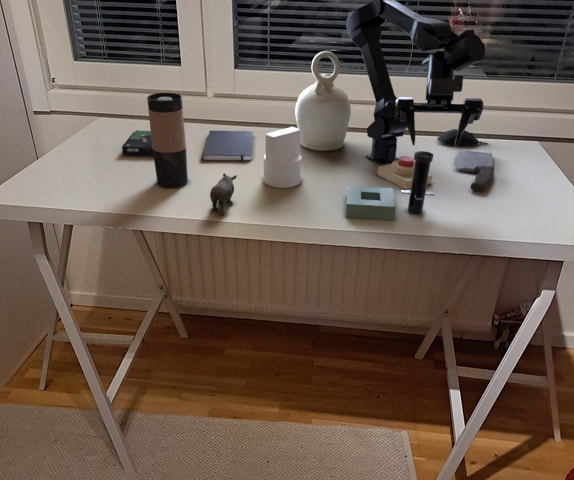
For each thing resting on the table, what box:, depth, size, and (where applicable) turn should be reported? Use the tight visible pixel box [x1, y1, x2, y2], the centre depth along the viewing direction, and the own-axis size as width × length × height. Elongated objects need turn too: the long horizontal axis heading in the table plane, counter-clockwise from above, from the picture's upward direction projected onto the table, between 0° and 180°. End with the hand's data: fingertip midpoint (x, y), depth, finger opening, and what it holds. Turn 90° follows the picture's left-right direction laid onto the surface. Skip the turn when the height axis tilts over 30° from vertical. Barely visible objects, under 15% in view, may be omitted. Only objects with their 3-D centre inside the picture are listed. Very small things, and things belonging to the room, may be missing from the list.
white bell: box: [295, 50, 352, 152], centre depth 152 cm, size 15×16×25 cm
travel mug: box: [146, 92, 189, 189], centre depth 127 cm, size 8×8×20 cm
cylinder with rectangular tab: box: [263, 126, 303, 189], centre depth 132 cm, size 9×9×12 cm
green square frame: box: [345, 185, 396, 221], centre depth 122 cm, size 10×10×3 cm
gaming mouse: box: [437, 128, 488, 147], centre depth 162 cm, size 6×15×4 cm, turn 88°
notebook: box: [202, 130, 254, 162], centre depth 154 cm, size 13×2×21 cm
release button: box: [398, 155, 415, 167], centre depth 135 cm, size 4×4×2 cm
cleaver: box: [454, 150, 495, 192], centre depth 143 cm, size 30×10×2 cm, turn 163°
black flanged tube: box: [400, 150, 436, 215], centre depth 118 cm, size 7×7×13 cm
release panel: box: [377, 160, 433, 190], centre depth 137 cm, size 11×8×4 cm
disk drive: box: [121, 129, 154, 157], centre depth 152 cm, size 10×3×15 cm
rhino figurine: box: [209, 172, 237, 216], centre depth 121 cm, size 4×14×6 cm, turn 171°
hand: (434, 145), depth 123 cm, fingers open, 9 cm apart
